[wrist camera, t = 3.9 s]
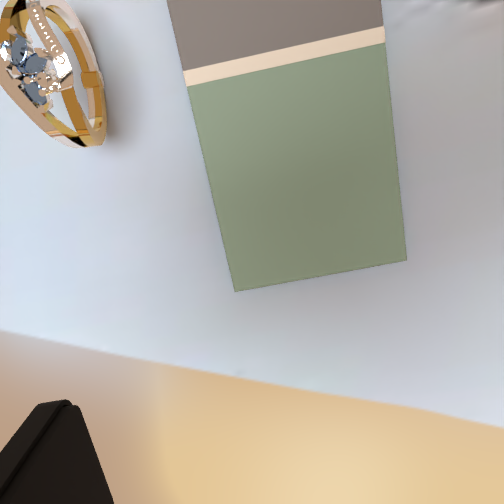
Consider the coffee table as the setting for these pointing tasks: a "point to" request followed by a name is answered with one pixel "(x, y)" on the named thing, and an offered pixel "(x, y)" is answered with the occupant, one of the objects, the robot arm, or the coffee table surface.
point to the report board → (294, 133)
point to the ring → (44, 80)
